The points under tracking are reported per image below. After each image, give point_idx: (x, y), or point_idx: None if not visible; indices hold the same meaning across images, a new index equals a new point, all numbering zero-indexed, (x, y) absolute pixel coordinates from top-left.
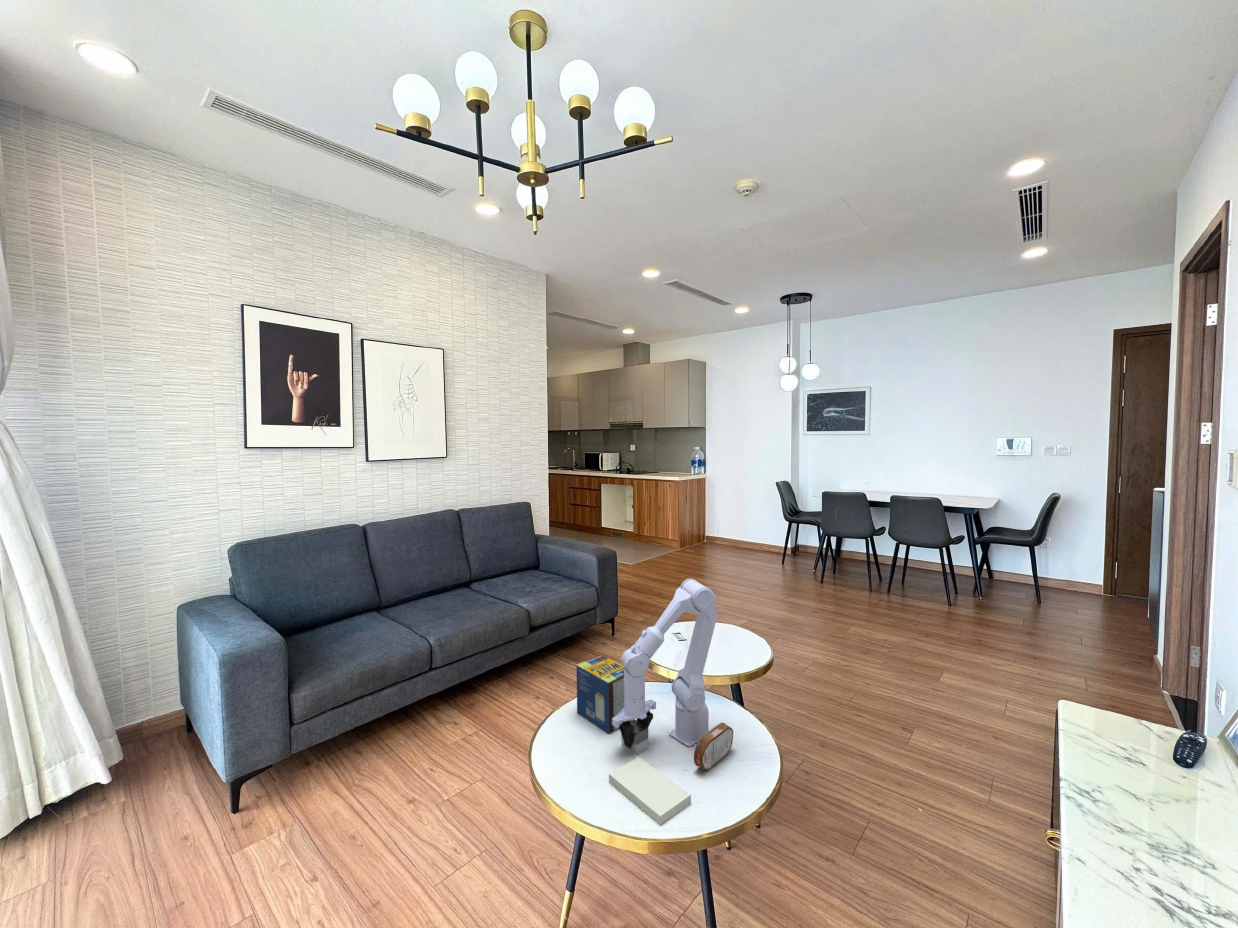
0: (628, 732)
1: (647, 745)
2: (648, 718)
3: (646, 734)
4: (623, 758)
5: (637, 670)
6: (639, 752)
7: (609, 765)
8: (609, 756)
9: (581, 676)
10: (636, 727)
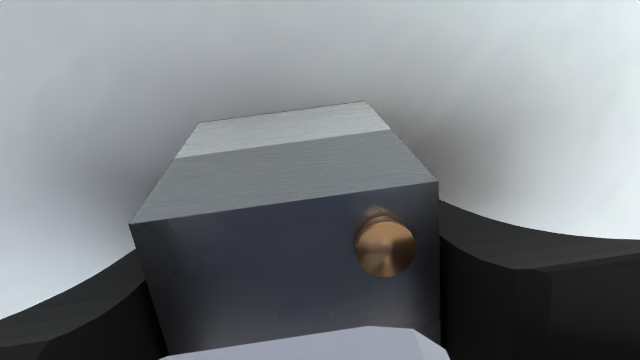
0: (593, 237)
1: (207, 130)
2: (31, 358)
3: (198, 175)
4: (478, 133)
5: None
6: (321, 110)
7: (629, 121)
8: (546, 216)
9: None
10: (308, 320)
